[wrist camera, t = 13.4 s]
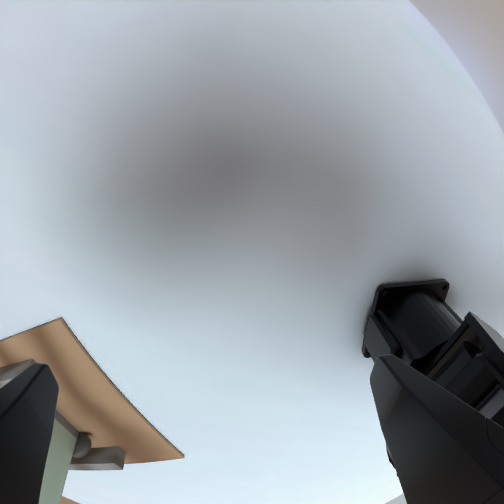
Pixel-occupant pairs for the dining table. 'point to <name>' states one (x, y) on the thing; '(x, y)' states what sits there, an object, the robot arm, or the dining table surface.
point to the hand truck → (61, 458)
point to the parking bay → (86, 399)
